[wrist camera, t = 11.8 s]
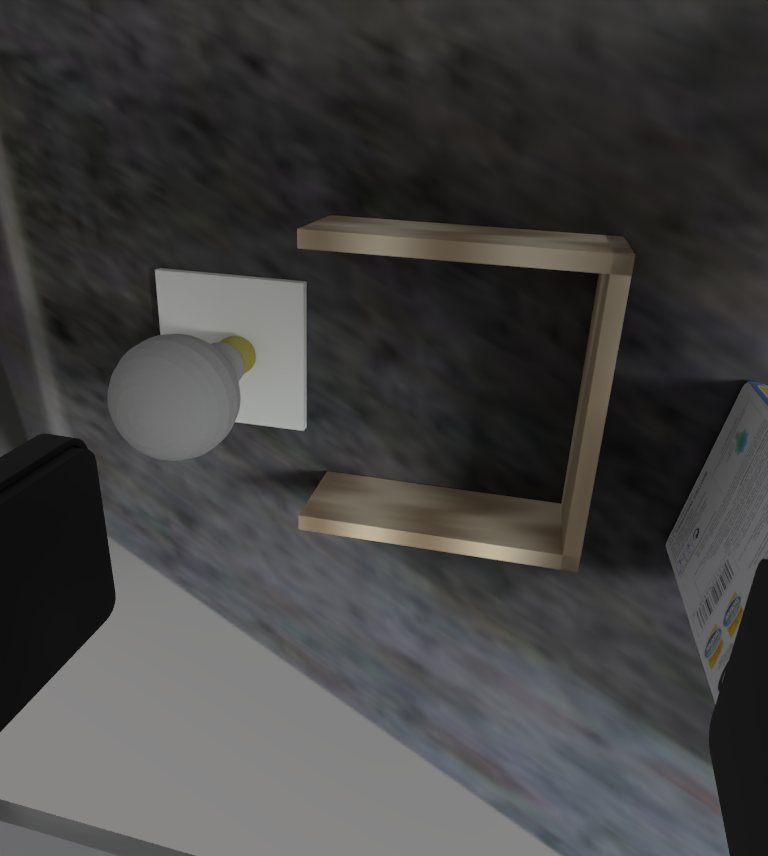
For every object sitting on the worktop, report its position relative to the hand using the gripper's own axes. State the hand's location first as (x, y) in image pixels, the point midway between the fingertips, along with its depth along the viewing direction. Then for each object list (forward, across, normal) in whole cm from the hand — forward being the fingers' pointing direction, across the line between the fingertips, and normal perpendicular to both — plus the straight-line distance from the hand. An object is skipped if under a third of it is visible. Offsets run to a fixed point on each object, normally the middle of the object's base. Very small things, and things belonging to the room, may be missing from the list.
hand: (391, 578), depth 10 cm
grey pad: (+25, +15, +6) cm, 30 cm away
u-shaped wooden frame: (+26, +3, +6) cm, 27 cm away
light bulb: (+25, +14, +6) cm, 29 cm away
